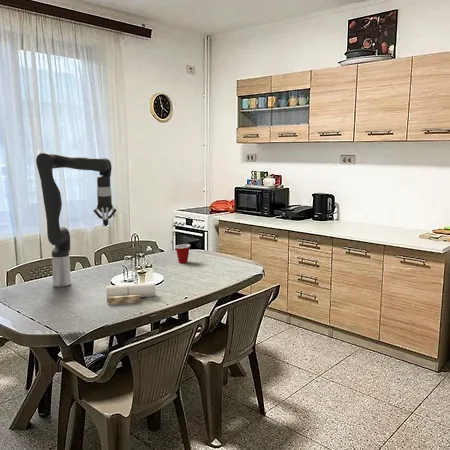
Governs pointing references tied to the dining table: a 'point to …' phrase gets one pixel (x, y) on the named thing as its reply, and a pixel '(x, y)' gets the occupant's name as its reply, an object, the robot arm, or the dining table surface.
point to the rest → (124, 299)
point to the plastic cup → (182, 252)
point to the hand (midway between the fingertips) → (105, 225)
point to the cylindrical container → (132, 290)
